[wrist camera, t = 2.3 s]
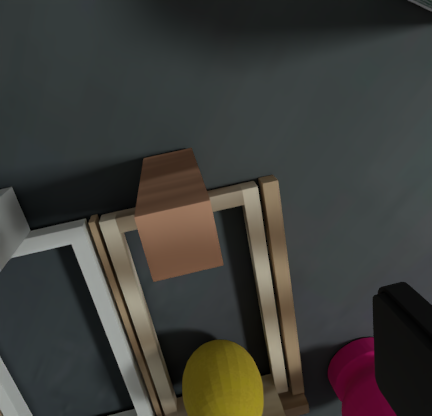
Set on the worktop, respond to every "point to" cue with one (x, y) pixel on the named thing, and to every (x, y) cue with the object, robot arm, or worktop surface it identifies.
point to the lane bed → (273, 219)
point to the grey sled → (98, 286)
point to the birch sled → (189, 257)
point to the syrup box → (423, 3)
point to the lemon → (222, 381)
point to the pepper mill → (357, 380)
